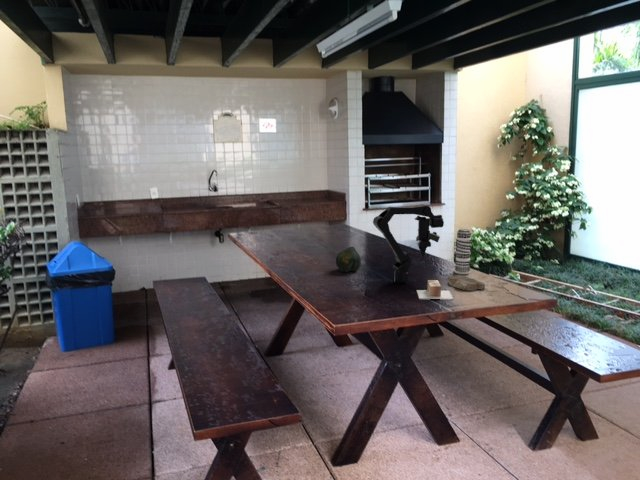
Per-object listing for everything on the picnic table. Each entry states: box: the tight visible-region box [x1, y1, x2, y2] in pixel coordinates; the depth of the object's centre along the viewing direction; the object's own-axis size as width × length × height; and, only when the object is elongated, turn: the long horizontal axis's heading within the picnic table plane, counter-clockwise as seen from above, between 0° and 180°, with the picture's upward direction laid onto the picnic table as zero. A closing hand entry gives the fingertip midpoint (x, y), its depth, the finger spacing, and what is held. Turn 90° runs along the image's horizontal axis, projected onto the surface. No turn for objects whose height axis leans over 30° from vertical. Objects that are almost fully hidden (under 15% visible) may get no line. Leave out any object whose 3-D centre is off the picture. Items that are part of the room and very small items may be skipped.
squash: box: [335, 246, 362, 273], centre depth 310 cm, size 14×15×15 cm
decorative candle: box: [454, 228, 473, 275], centre depth 303 cm, size 9×9×25 cm
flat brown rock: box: [447, 274, 486, 292], centre depth 276 cm, size 14×5×20 cm
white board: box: [416, 289, 454, 301], centre depth 259 cm, size 16×14×1 cm
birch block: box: [427, 279, 442, 297], centre depth 261 cm, size 5×5×12 cm
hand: (423, 256), depth 286 cm, fingers closed
